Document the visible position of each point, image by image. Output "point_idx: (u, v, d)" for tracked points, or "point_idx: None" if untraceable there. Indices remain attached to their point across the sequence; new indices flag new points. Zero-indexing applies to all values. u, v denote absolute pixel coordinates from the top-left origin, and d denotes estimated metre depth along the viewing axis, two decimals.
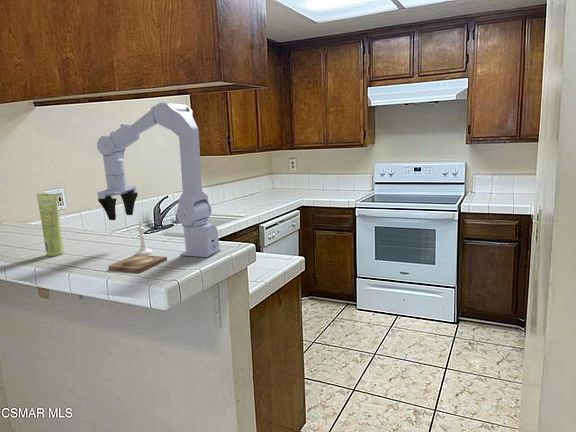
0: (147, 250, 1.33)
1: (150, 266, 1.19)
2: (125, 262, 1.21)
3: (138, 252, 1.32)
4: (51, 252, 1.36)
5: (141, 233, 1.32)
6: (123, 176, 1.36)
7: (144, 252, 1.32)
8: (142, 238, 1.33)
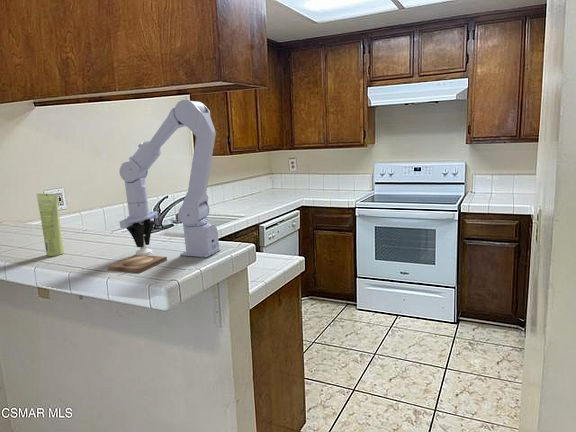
0: (147, 250, 1.33)
1: (150, 266, 1.19)
2: (125, 262, 1.21)
3: (138, 252, 1.32)
4: (51, 252, 1.36)
5: None
6: (146, 203, 1.30)
7: (144, 252, 1.32)
8: None
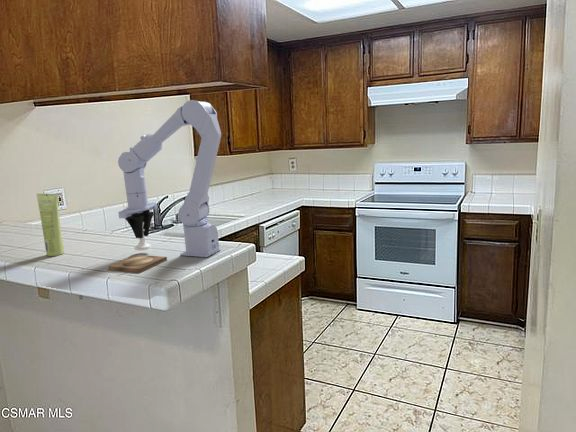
0: (146, 245, 1.33)
1: (150, 266, 1.19)
2: (125, 262, 1.21)
3: (137, 246, 1.32)
4: (51, 252, 1.36)
5: None
6: (144, 194, 1.30)
7: (143, 247, 1.32)
8: None
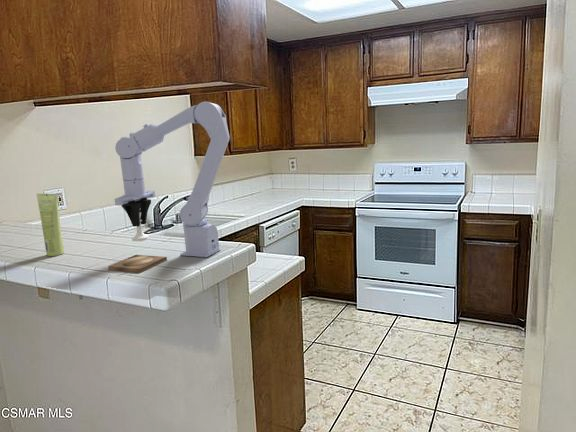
0: (144, 235, 1.30)
1: (150, 266, 1.19)
2: (125, 262, 1.21)
3: (135, 237, 1.29)
4: (51, 252, 1.36)
5: None
6: (142, 181, 1.26)
7: (141, 238, 1.29)
8: None
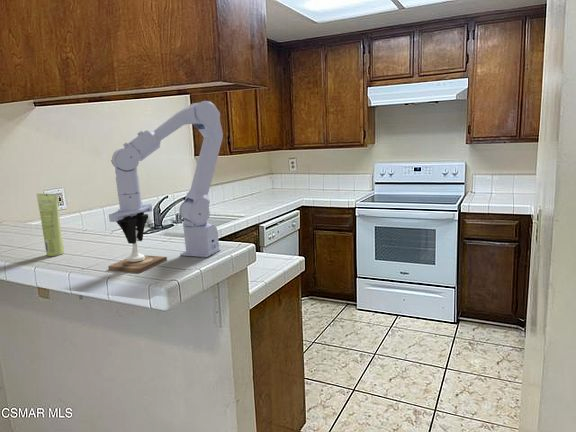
0: (139, 255, 1.22)
1: (150, 266, 1.19)
2: (125, 262, 1.21)
3: (129, 257, 1.20)
4: (51, 252, 1.36)
5: None
6: (138, 195, 1.18)
7: (136, 258, 1.20)
8: None
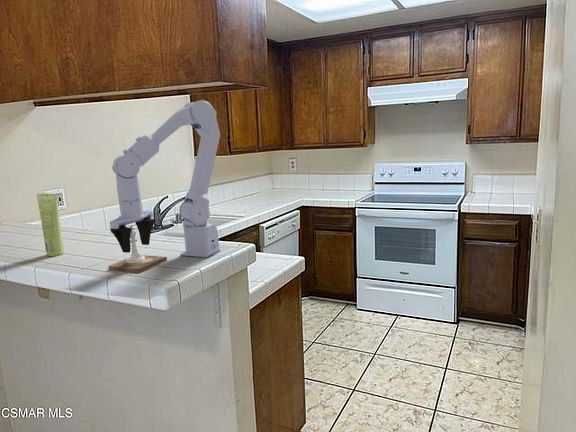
0: (139, 257, 1.22)
1: (150, 266, 1.19)
2: (125, 262, 1.21)
3: (129, 259, 1.21)
4: (51, 252, 1.36)
5: (132, 238, 1.21)
6: (139, 201, 1.18)
7: (136, 259, 1.21)
8: (134, 244, 1.21)
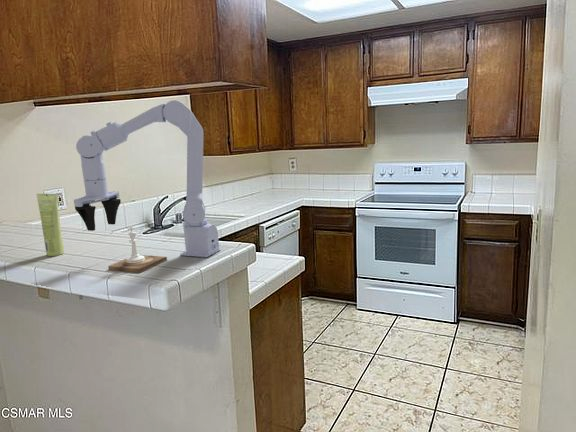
0: (139, 257, 1.22)
1: (150, 266, 1.19)
2: (125, 262, 1.21)
3: (129, 259, 1.21)
4: (51, 252, 1.36)
5: (132, 238, 1.21)
6: (103, 181, 1.21)
7: (136, 259, 1.21)
8: (134, 244, 1.21)
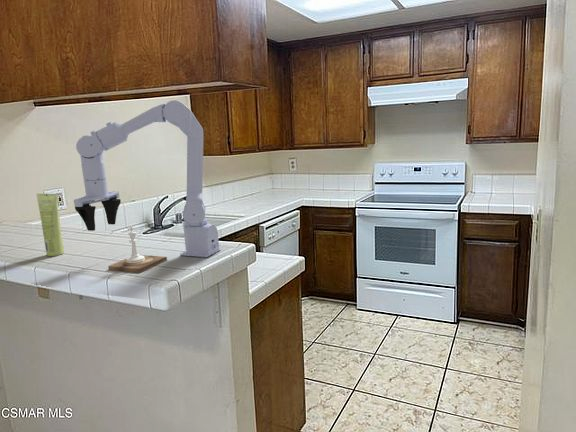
0: (139, 257, 1.22)
1: (150, 266, 1.19)
2: (125, 262, 1.21)
3: (129, 259, 1.21)
4: (51, 252, 1.36)
5: (132, 238, 1.21)
6: (103, 181, 1.21)
7: (136, 259, 1.21)
8: (134, 244, 1.21)
